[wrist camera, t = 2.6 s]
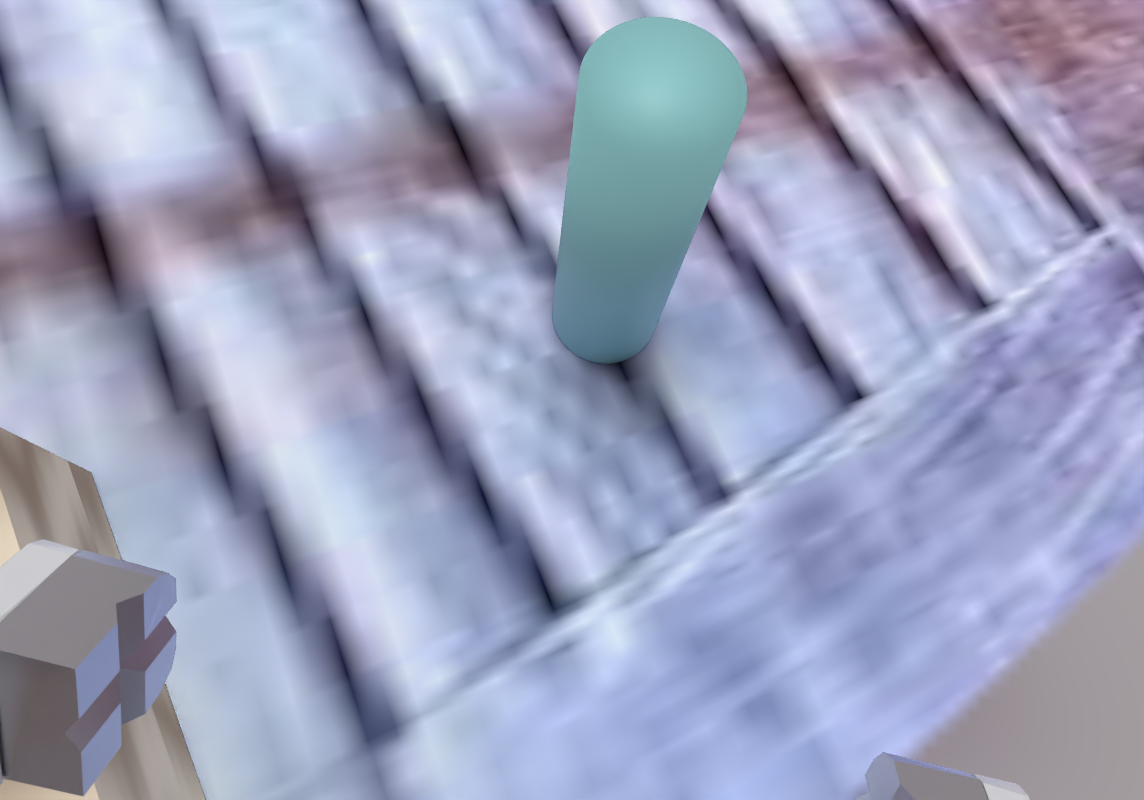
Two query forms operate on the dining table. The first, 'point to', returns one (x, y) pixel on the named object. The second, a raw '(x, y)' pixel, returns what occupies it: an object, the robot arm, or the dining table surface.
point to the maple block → (77, 519)
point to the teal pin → (639, 177)
